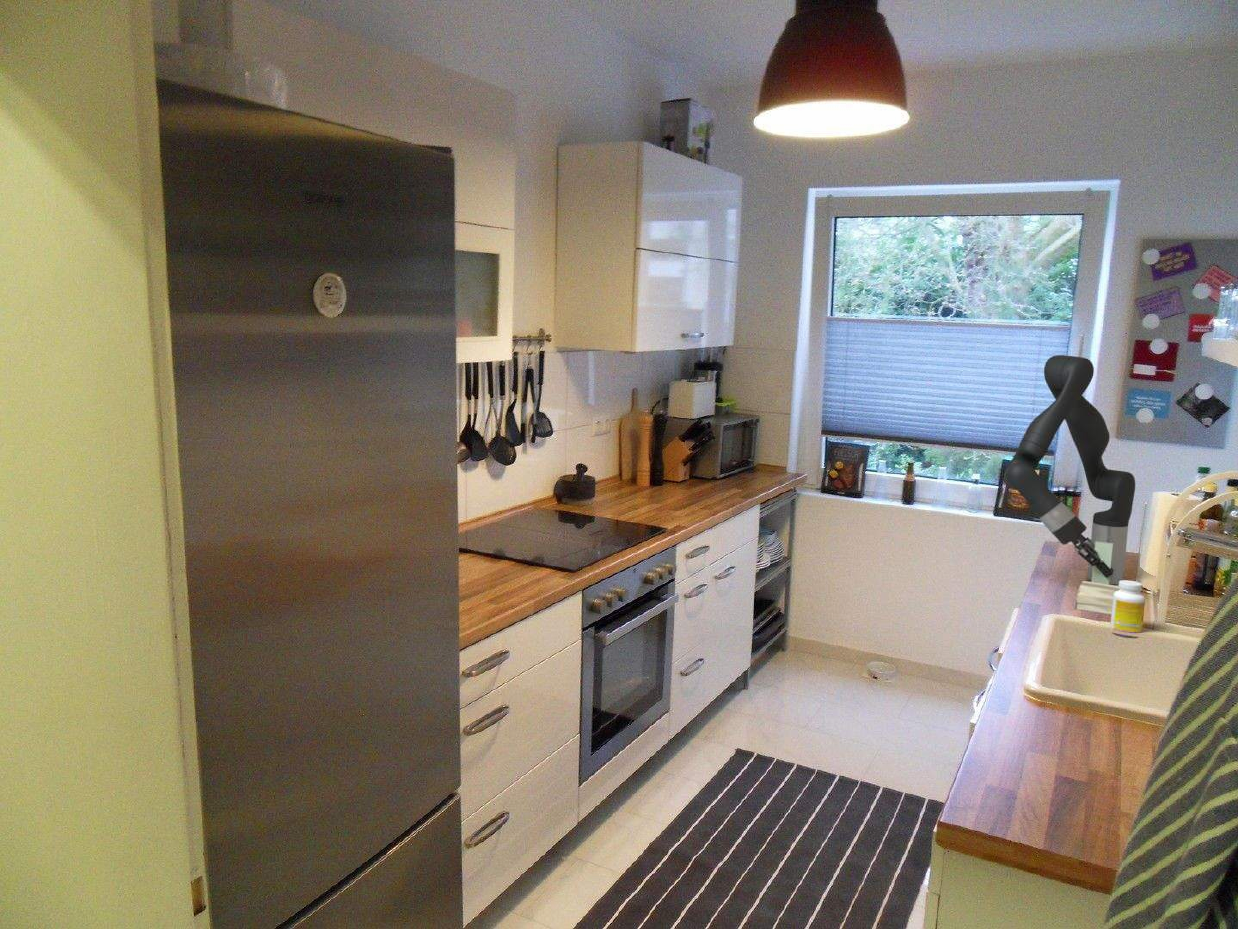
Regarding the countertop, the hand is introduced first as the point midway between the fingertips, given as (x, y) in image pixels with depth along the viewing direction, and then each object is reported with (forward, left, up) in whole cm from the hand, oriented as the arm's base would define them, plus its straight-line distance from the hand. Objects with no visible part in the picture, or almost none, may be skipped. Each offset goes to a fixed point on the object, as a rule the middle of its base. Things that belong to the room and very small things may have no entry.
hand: (1110, 574), depth 228 cm
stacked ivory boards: (+3, -2, -9) cm, 10 cm away
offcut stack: (+8, -2, -8) cm, 11 cm away
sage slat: (0, -2, -8) cm, 8 cm away
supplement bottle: (+22, +5, -10) cm, 25 cm away
